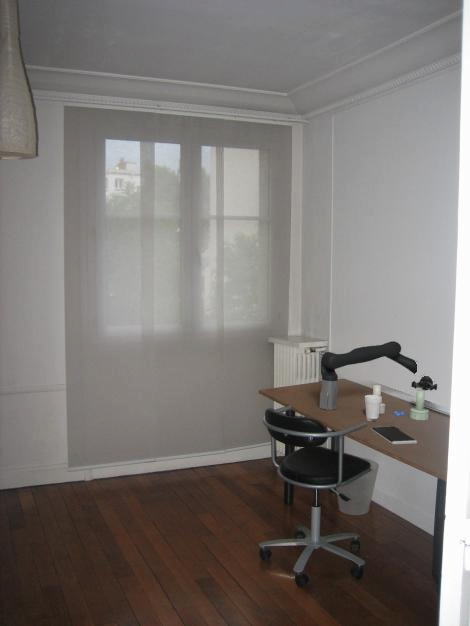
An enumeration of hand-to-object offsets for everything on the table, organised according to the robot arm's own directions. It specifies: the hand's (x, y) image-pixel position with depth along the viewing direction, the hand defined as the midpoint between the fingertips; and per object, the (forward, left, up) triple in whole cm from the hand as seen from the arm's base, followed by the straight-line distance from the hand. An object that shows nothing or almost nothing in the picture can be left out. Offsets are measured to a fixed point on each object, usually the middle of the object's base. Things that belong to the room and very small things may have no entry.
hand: (423, 387), depth 372 cm
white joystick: (-20, +17, -16) cm, 31 cm away
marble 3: (-12, +4, -15) cm, 19 cm away
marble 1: (-13, +7, -15) cm, 21 cm away
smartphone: (-45, -17, -17) cm, 51 cm away
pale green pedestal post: (-9, -5, -16) cm, 20 cm away
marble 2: (-15, +4, -15) cm, 22 cm away
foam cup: (-31, +9, -17) cm, 37 cm away
